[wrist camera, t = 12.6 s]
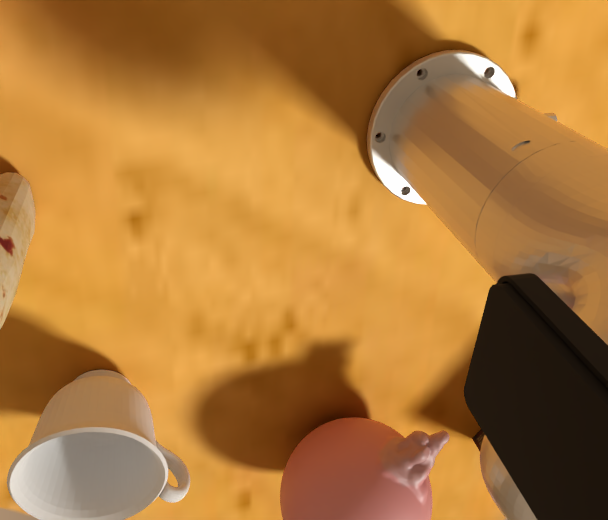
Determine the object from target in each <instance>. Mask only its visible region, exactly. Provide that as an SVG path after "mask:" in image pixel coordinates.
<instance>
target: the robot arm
mask: <svg viewBox="0 0 608 520" xmlns="http://www.w3.org/2000/svg"><path fill="white" fill-rule="evenodd" d="M419 70H420V73H419V74H417V72H418V71H419ZM485 70H486V71H485ZM379 132H380V133H379ZM378 133H379V135H378V136H376V135H377V134H378ZM367 150H368V155H369V159H370V163H371V166H372V168H373V170H374V172H375V174H376V176H377V177H378V178H379V180H380V181H381V182H382V184H383V185H384V186H385V187H386V188H387V189H388V190H389V191H390V192H391V193H392V194H394V195H396V196H397V197H399V198H400V199H403V200H406V201H409V202H412V203H416V204H424V205H428V206H429V208H430V209H431V210H432V211H433V212H434V213H435V214H436V215H437V217H438V218H439V219H440V220H441V221H442V222H443V223H444V224H445V226H446V227H447V228H448V229H449V230H450V231H451V232H452V233H453V235H454V236H455V237H456V238H457V239H458V240H459V241H460V242H461V244H462V245H463V246H464V247H465V248H466V249H467V250H468V251H469V253H470V254H471V255H472V256H473V257H474V258H475V259H476V260H477V262H478V263H479V264H480V265H481V266H482V267H483V268H484V269H485V270H486V272H487V273H488V274H489V275H490V276H491V277H492V278H493V279H494V281H495V282H496V283H497V284H495V285H492V287H491V288H490V290H489V293H488V297H487V301H486V305H485V309H484V313H483V316H482V320H481V324H480V328H479V332H478V336H477V340H476V344H475V348H474V352H473V356H472V359H471V363H470V367H469V371H468V375H467V379H466V383H465V387H464V396H465V401H466V404H467V406H468V408H469V409H470V411H471V413H472V414H473V416H474V418H475V419H476V421H477V422H478V424H479V426H480V427H481V429H482V431H483V432H484V434H485V435H484V438H483V441H482V445H481V451H480V464H481V472H482V476H483V479H484V481H485V484H486V487H487V489H488V491H489V493H490V495H491V497H492V498H493V500H494V502H495V503H496V505H497V506H498V508H499V509H500V511H501V512H502V513H503V515H504V516H505V517H506V518H507V519H508V520H608V149H607V148H605V147H603V146H601V145H599V144H597V143H596V142H594V141H592V140H590V139H588V138H586V137H585V136H583V135H581V134H579V133H577V132H575V131H574V130H572V129H570V128H568V127H566V126H564V125H563V124H561V123H559V122H557V117H556V115H555V114H554V113H545V114H542V113H541V112H539V111H537V110H535V109H533V108H532V107H530V106H528V105H526V104H524V103H522V102H521V101H519V100H517V96H516V93H515V89H514V86H513V84H512V82H511V81H510V79H509V77H508V75H507V74H506V73H505V72H504V71H503V70H502V69H501V67H500V66H499V65H498V64H496V63H494V62H493V61H491V60H490V59H488V58H487V57H484V56H482V55H480V54H477V53H475V52H470V51H465V50H445V51H441V52H436V53H432V54H430V55H427V56H425V57H423V58H421V59H418V60H416V61H415V62H414V63H412V64H411V65H409V66H408V67H406V68H405V69H403V70H402V71H401V72H400V73H399V74H398V75H397V76H396V77H395V78H394V79H393V80H392V81H391V82H390V83H389V85H388V86H387V87H386V88H385V90H384V91H383V92H382V94H381V96H380V97H379V99H378V101H377V103H376V105H375V107H374V109H373V112H372V115H371V118H370V121H369V126H368V134H367ZM403 187H404V188H403Z"/></svg>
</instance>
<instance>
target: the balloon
mask: <svg viewBox="0 0 608 520" xmlns="http://www.w3.org/2000/svg"><path fill="white" fill-rule="evenodd" d="M448 441H449V434H448V433H447V432H446V431H440V432H438V433H435V434H433V435H430V436H429V435H427V434H426V433H425V432H422V431H414V432H413V433H411V434H410V435H409V436H407V437H406V438H404V437H403V436H402V435H400V434H399V433H398V432H397V431H395V430H394V429H392V428H390V427H389V426H387V425H385V424H383V423H380V422H377V421H374V420H371V419H366V418H358V417H349V418H341V419H336V420H333V421H330V422H327V423H325V424H323V425H321V426H319V427H317V428H316V429H314V430H313V431H311V432H310V433H309V434H308V435H306V436H305V437H304V438H303V439H302V440H301V442H300V443H299V444H298V445H297V446H296V448H295V449H294V451H293V452H292V454H291V456H290V458H289V460H288V462H287V464H286V467H285V470H284V473H283V477H282V482H281V490H280V504H281V512H282V517H283V520H431V514H432V491H431V485H430V481H429V477H428V475H429V473H430V470H431V468H432V467H433V465H434V462H435V457H436V455H437V454H438V453H439V451H440V450H441V449H442V448H443V445H444V444H445V443H447V442H448Z"/></svg>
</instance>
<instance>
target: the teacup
mask: <svg viewBox="0 0 608 520" xmlns="http://www.w3.org/2000/svg"><path fill="white" fill-rule="evenodd" d="M168 469H170V470H171V471H172V473H173V474H174V475H175V477H176V479H177V482H178V487H173V486H171V485H170V484H169V483H168V482H167V478H168ZM7 486H8V490H9V493H10V495H11V497H12V498H13V500H14V501H15V502H16V503H17V504H18V505H19V506H20V507H21V508H22V509H23V510H24V511H26V512H27V513H28V514H30V515H32V516H33V517H35V518H37V519H40V520H124V519H126V518H129V517H131V516H133V515H135V514H137V513H138V512H140V511H142V510H143V509H144V508H146V507H147V506H148V505H150V504H151V503H152V502H153V501H154V500H155V499H156V498H157V497H158V496H159V497H160V498H161V499H163V500H165V501H167V502H177V501H180V500H181V499H182V498H183V497H184V496H185V495H186V493H187V492H188V489H189V486H190V475H189V472H188V469H187V467H186V466H185V464H184V463H183V461H182V460H181V459H180V458H179V457H178V456H176V455H175V454H174V453H172V452H171V451H169V450H167V449H166V448H164V447H163V446H161V445H160V444H159V443H158V442H157V441H156V440H155V433H154V427H153V420H152V415H151V411H150V408H149V405H148V403H147V401H146V399H145V397H144V396H143V395H142V393H141V392H140V391H139V390H138V389H137V388H136V387H134V386H133V385H131V383H130V381H129V380H128V379H127V378H126V377H125V376H123V375H122V374H120V373H117V372H115V371H111V370H93V371H89V372H86V373H83V374H81V375H80V376H78V377H77V378H76V379H75V380H74V381H73V382H71V383H69V384H67V385H66V386H64V387H63V388H61V389H60V390H59V391H58V392H57V393H56V394H55V395H54V396H53V397H52V398H51V400H50V401H49V402H48V404H47V405H46V407H45V409H44V411H43V413H42V415H41V417H40V419H39V422H38V424H37V427H36V429H35V432H34V434H33V437H32V439H31V442H30V444H29V446H28V447H27V448H26V449H24V450H23V451H22V452H21V453H20V454H19V455H18V456H17V458H16V459H15V460H14V462H13V463H12V465H11V467H10V469H9V473H8V477H7Z"/></svg>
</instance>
